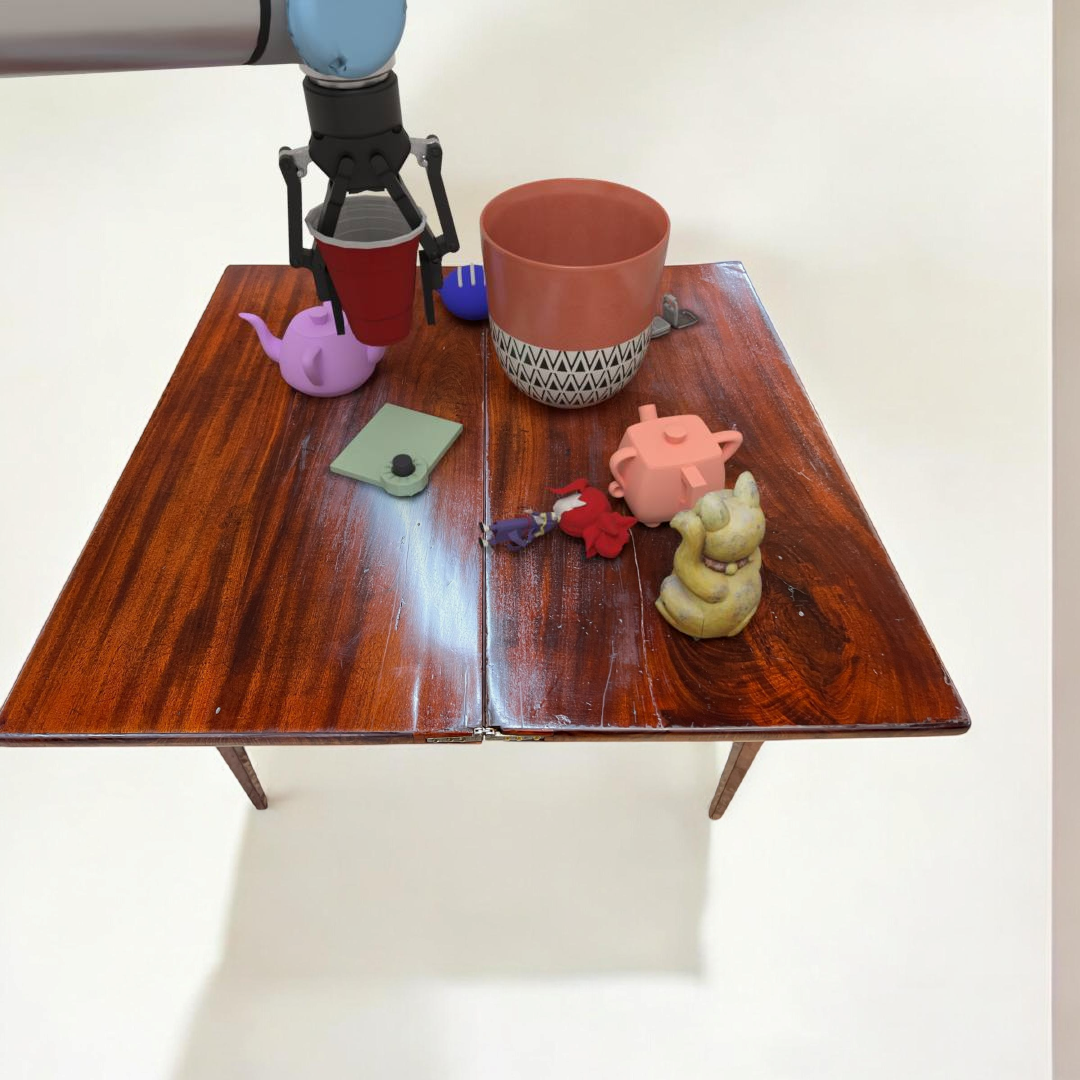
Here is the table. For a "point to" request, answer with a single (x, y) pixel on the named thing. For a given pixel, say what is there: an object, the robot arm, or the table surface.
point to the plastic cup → (372, 266)
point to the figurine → (569, 522)
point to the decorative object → (466, 292)
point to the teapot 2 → (669, 464)
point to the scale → (397, 449)
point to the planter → (572, 285)
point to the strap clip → (671, 317)
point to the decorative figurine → (716, 563)
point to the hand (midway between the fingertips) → (385, 322)
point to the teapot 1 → (318, 353)
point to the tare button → (402, 465)
